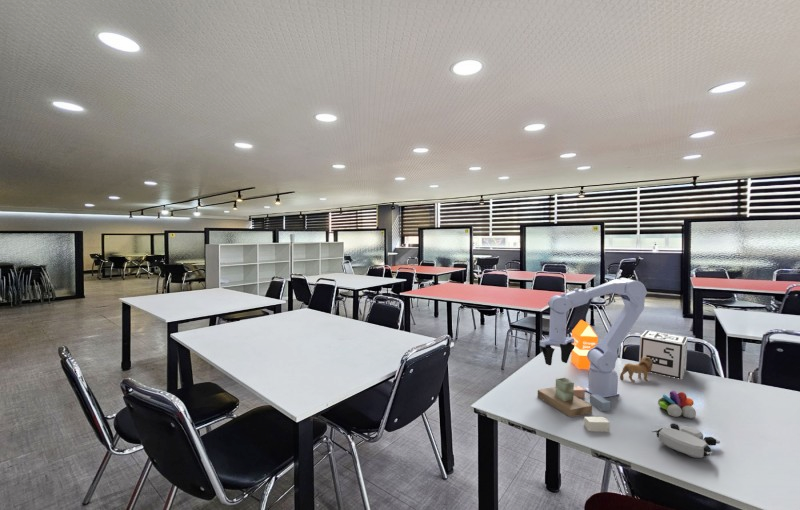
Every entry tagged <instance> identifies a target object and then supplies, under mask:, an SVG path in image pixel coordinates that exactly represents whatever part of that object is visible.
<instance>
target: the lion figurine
mask: <svg viewBox="0 0 800 510" xmlns="http://www.w3.org/2000/svg"><path fill="white" fill-rule="evenodd" d="M641 359H642V360H641V361H640V363H639V362H638V363H637V364H636V363H635V364H633V363H626V364H624V366H623V367H622V372H620V374H619V378H620V381H623V380H624V375H625V374H628V379H629V380H630V381H631V382H632V383H633V382H634V383H635V382H636V381H635V379H633V375H634V374H636V375H637V378H638V379H639V378H640V379H642V374H643V380H644V381H645V382H648V381H649V379H648V376H649V375H648V374H649V372H650V371H651V369H652V360H651V359H650V358H649V357H643V358H641ZM627 372H628V373H627Z"/></svg>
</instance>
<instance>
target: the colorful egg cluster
mask: <svg viewBox="0 0 800 510" xmlns="http://www.w3.org/2000/svg"><path fill="white" fill-rule="evenodd" d="M657 404H658V406H659V407H660V408H662V409H664V410H666V411H667V413H668V415H669V416H672V417H674V418H678V417H680V416H683V417H684V418H686V419H693V418H695V417H696V415H697V411H696V409H695V407H693V406H694V404H695V403H694V400H693V399H692V398H689V397H687V394H686V393H685V392H678V393H677V391H675V390H671V391H670V392H669V396H668V395H666V394H665V393H664V394H662V396H660V397H658V399H657Z"/></svg>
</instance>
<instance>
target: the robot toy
mask: <svg viewBox="0 0 800 510" xmlns="http://www.w3.org/2000/svg"><path fill="white" fill-rule="evenodd" d="M669 425H670V427H663V428H659V429H658V430H653V429H652V430H651V432H652V433H655V435H656V437H657V438H658V440H659V442H661V443H662V444H663V445H665V446H666V447H667V448H670V449H673V450H675V451H676V452H679V453H682V454H685V455H687V456H689V457H691V458H694V459H697V458H699V459H703V457H704V458H707V457H708V456H710V455H713V452H712V449H711V447H710V446H716V445H718V444H720V443H721V441H720V440H718V439H717V438H714V437H712V436H705V437H704V434H703V432H702V431H700V430H699V429H697V428H695V427H691V426H687V425H682V426H680V425H678V424H677V423H672V422H670V424H669Z"/></svg>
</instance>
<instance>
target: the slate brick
mask: <svg viewBox="0 0 800 510" xmlns="http://www.w3.org/2000/svg"><path fill="white" fill-rule="evenodd" d="M589 404H590V405H592V406H594V407H596V408H597V409H599V410H600V411H602V412H609V411H610V412H611V408H612V407H611V406H612V405H611V404H612V403H611V401H610V400H608V399H607V398H606V397H605V398H603V397H601V396H600V395H598V394H589Z"/></svg>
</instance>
